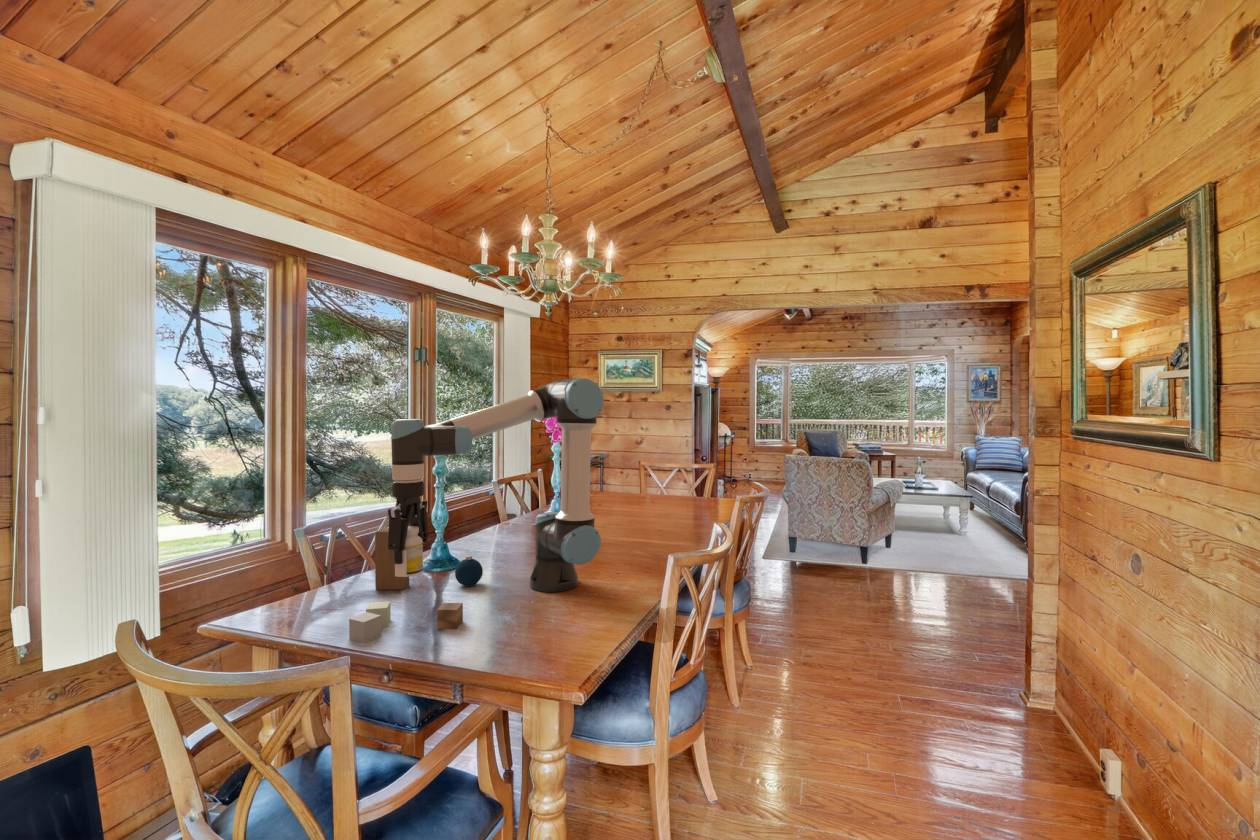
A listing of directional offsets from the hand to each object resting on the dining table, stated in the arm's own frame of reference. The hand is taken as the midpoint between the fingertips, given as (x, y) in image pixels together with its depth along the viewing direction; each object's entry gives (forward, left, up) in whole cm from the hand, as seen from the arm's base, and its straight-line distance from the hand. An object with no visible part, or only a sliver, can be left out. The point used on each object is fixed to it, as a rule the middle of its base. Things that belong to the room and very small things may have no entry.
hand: (409, 571), depth 143 cm
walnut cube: (-8, -5, -15) cm, 18 cm away
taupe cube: (+8, +6, -15) cm, 18 cm away
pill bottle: (0, 0, -1) cm, 1 cm away
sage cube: (+10, -2, -15) cm, 18 cm away
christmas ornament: (+2, -36, -15) cm, 39 cm away
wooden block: (+24, -29, -15) cm, 40 cm away
